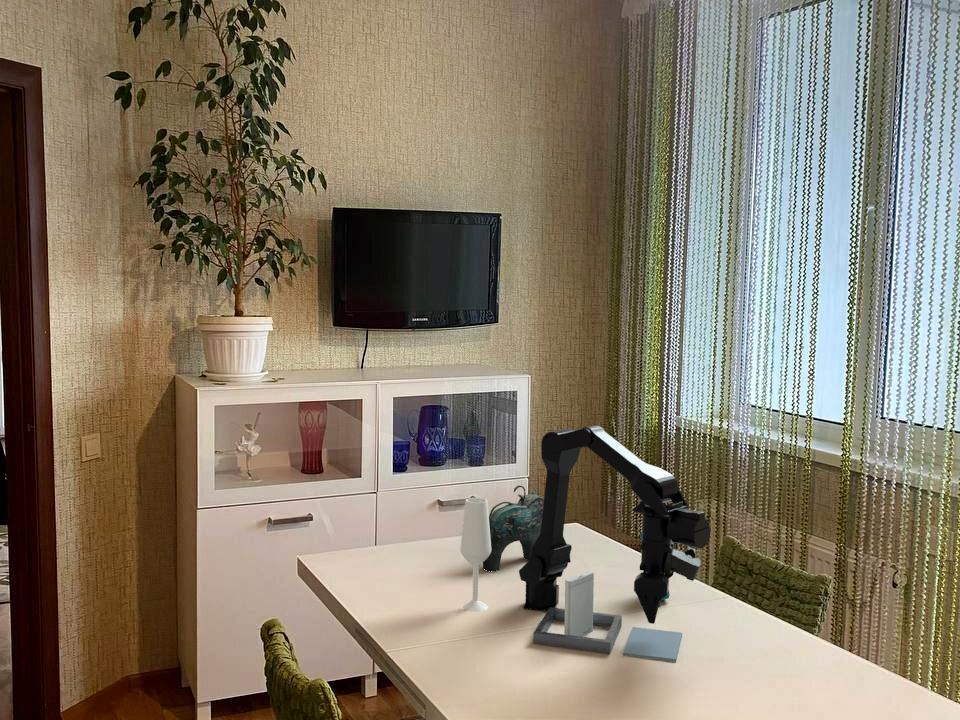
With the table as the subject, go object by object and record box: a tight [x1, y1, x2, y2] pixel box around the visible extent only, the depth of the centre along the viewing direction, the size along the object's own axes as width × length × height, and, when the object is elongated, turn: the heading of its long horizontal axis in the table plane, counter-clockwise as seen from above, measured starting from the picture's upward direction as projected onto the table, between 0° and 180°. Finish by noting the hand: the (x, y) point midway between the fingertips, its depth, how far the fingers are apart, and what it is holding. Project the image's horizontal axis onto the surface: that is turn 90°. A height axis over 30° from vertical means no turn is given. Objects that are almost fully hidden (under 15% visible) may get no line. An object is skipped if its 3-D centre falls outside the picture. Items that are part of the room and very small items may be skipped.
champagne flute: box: [459, 497, 491, 612], centre depth 205 cm, size 7×7×24 cm
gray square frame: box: [532, 607, 623, 655], centre depth 191 cm, size 15×15×2 cm
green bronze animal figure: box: [482, 485, 544, 573], centre depth 236 cm, size 20×6×20 cm, turn 133°
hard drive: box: [563, 571, 595, 637], centre depth 190 cm, size 2×8×12 cm, turn 138°
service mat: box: [622, 626, 683, 663], centre depth 187 cm, size 10×14×1 cm
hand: (654, 615), depth 186 cm, fingers open, 9 cm apart
